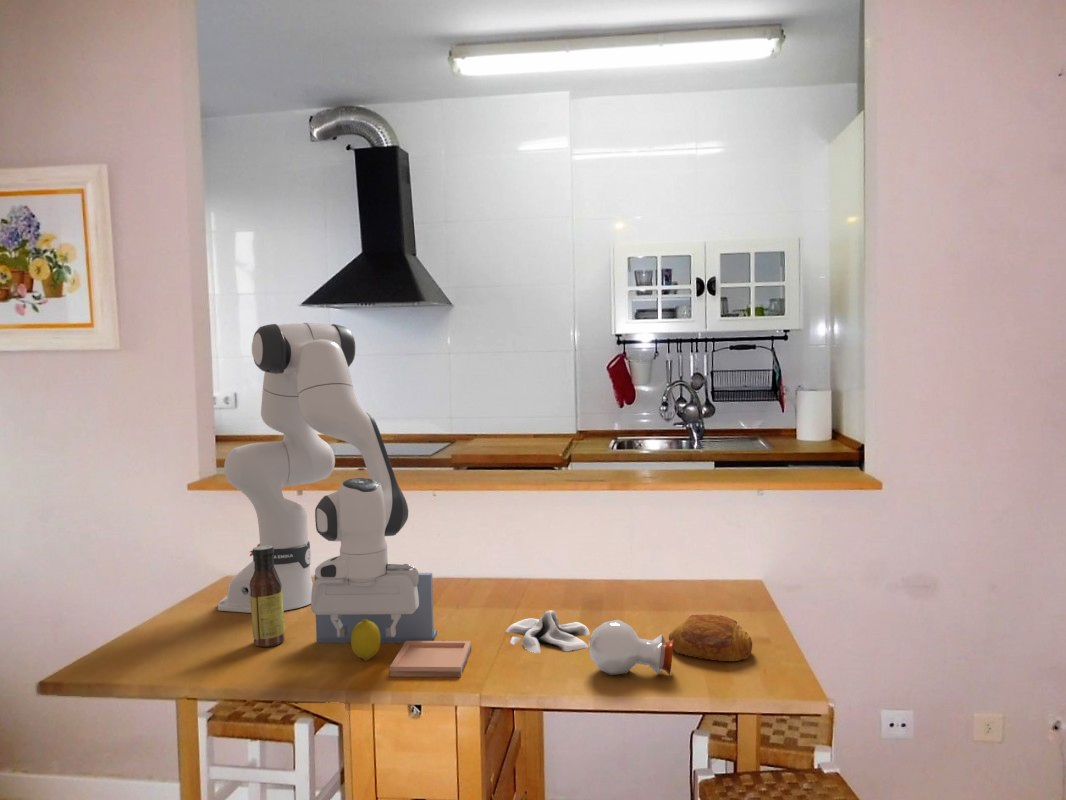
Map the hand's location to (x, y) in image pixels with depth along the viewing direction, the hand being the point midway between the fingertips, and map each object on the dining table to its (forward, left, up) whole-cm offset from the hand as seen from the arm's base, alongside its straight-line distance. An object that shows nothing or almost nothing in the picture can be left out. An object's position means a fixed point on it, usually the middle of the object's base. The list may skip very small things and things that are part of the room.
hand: (366, 636), depth 146 cm
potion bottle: (+50, -5, -5) cm, 50 cm away
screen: (-1, +12, -5) cm, 13 cm away
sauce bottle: (-23, +9, -5) cm, 26 cm away
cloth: (+34, +12, -6) cm, 36 cm away
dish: (+13, -1, -5) cm, 14 cm away
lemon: (0, 0, -5) cm, 5 cm away
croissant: (+66, +7, -5) cm, 67 cm away
